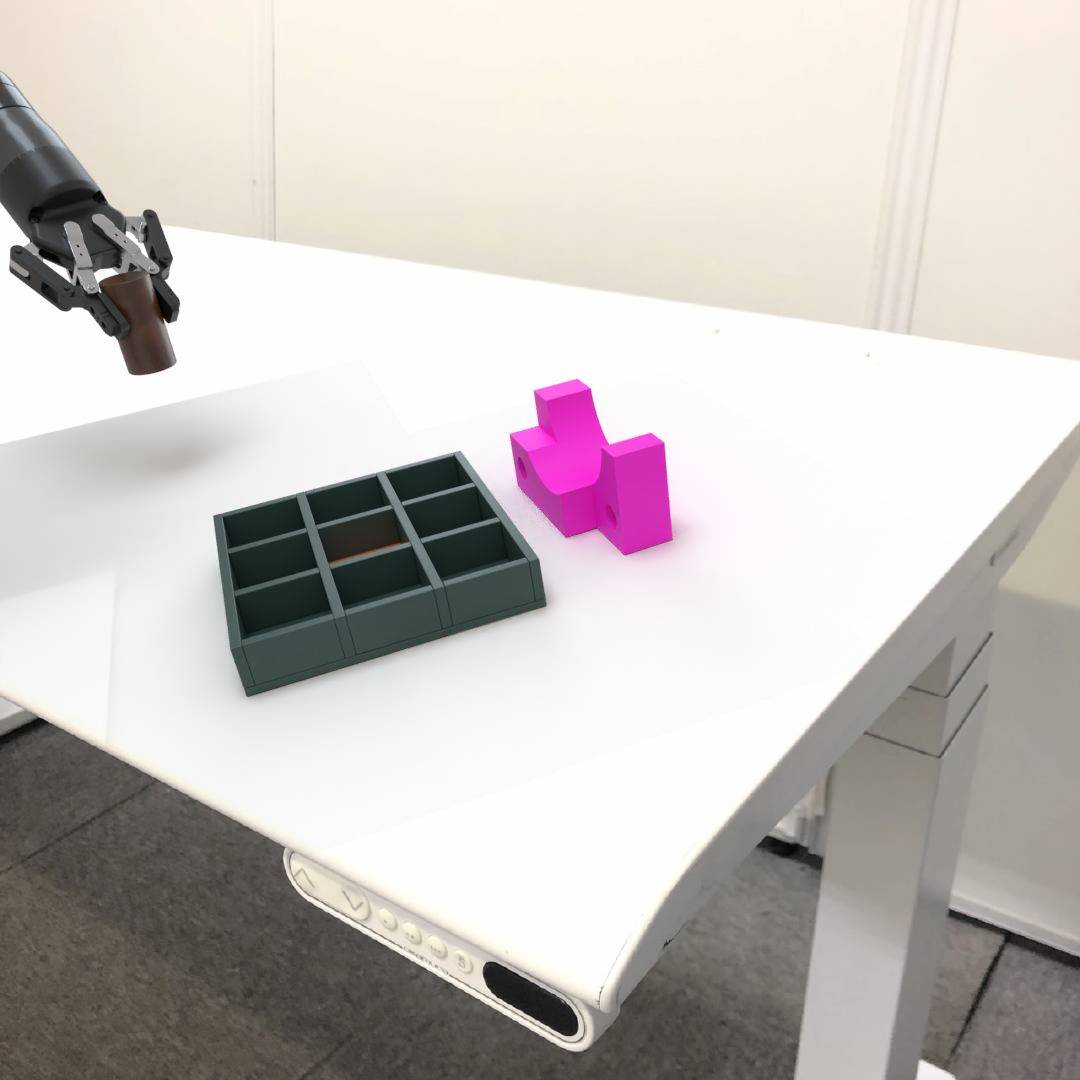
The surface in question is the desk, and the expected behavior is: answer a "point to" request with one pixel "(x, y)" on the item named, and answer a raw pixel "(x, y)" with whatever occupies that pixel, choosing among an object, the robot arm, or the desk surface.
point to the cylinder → (140, 323)
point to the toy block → (592, 472)
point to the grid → (368, 570)
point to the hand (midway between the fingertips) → (149, 324)
